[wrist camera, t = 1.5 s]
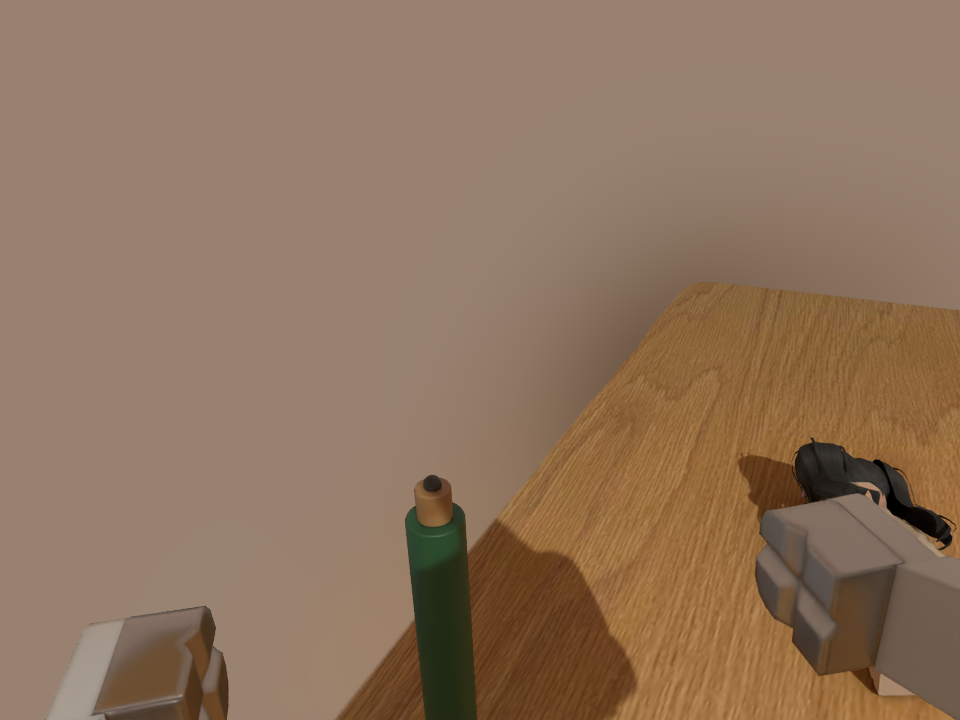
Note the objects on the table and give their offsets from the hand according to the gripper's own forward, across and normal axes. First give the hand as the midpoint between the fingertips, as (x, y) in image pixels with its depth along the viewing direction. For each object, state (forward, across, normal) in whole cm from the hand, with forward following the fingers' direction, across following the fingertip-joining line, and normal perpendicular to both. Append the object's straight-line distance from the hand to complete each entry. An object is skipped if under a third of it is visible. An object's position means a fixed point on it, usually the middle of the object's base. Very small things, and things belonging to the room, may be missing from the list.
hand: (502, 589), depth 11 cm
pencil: (+12, 0, +20) cm, 24 cm away
